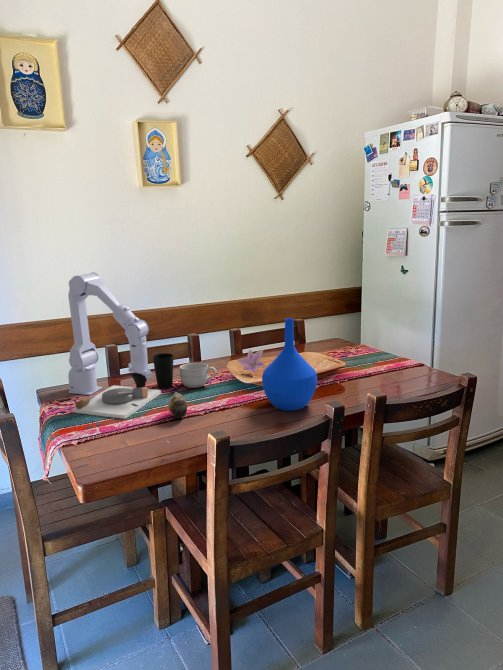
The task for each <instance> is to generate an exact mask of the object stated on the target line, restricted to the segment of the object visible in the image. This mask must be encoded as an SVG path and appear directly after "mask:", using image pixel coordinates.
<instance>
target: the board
mask: <svg viewBox="0 0 503 670" xmlns="http://www.w3.org/2000/svg"><path fill="white" fill-rule="evenodd" d="M117 388H128V389H132V390H133V388H135V386H134V387H132V386H131V387H130V386H121V385H111V386H110V387H108V388H106V389H104V390H103V391H102V392H99V393H97V394H95V397H94V398H92V399H91V400H89V404H87V405H85V406H84V407H82V408H80V409H77V408H76V406H74V407H73V408H72V413H74V412H75V413H74V414H82V415H83V414H84V415H92V416H99V417H106V418H109V417H110V418H115V419H116V418H117V419H124V420H125V419H127V418H129V417H130V416H131V415H133V414H134V413H135V412H137V411H138V410H140V409H141V408H143V407H145V405H147V404H148V403H150V402H151V401H153V400H154V399H155V398H156V397H159V396H160V395H161V394H162V389H153V388H147V391H148V397H139V398H134V399H133V400H131V401H129V402H126V403H122V404H106V403H104V402H103V401H102V394H103V393H104V392H106V391H108V390H111V389H117ZM149 401H150V402H149ZM146 403H147V404H146ZM132 413H133V414H132Z"/></svg>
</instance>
